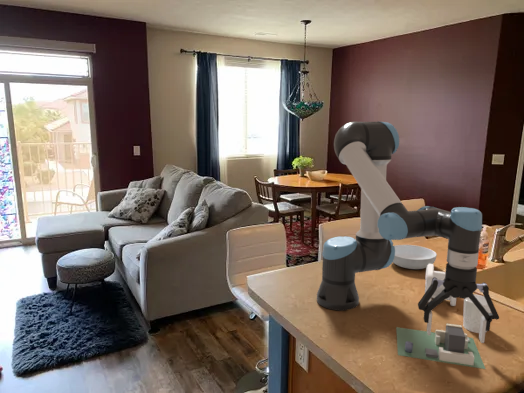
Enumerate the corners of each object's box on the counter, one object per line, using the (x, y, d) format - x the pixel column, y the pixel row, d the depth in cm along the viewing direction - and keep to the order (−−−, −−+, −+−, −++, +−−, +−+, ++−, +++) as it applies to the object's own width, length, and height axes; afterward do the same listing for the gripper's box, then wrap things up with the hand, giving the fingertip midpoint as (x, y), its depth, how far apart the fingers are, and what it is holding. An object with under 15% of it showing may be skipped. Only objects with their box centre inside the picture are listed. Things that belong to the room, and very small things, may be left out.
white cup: (464, 320, 131) (467, 291, 129) (491, 327, 126) (494, 298, 124) (458, 329, 125) (461, 300, 123) (486, 338, 120) (490, 307, 118)
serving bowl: (387, 256, 194) (387, 242, 192) (433, 260, 187) (434, 246, 186) (386, 271, 174) (387, 256, 173) (437, 276, 168) (439, 261, 167)
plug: (447, 357, 109) (449, 333, 108) (444, 346, 115) (446, 323, 114) (463, 360, 108) (465, 335, 107) (459, 348, 114) (461, 325, 112)
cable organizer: (455, 310, 138) (458, 279, 136) (423, 305, 142) (425, 274, 140) (454, 293, 151) (457, 265, 149) (424, 289, 155) (427, 261, 153)
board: (397, 356, 111) (398, 347, 110) (396, 328, 126) (396, 320, 125) (485, 370, 104) (486, 360, 104) (472, 339, 119) (473, 330, 119)
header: (439, 360, 108) (440, 348, 108) (434, 340, 118) (435, 329, 118) (473, 365, 106) (474, 353, 105) (465, 344, 116) (466, 333, 115)
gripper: (413, 264, 107) (408, 336, 111) (518, 274, 100) (508, 351, 104) (411, 255, 114) (406, 323, 118) (509, 264, 107) (500, 336, 111)
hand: (454, 336), depth 111 cm, fingers open, 13 cm apart
